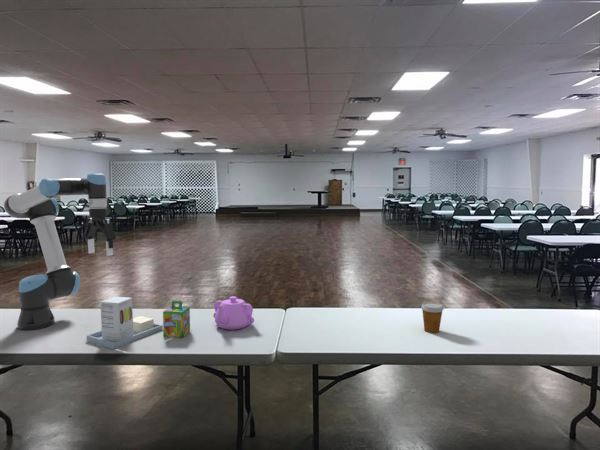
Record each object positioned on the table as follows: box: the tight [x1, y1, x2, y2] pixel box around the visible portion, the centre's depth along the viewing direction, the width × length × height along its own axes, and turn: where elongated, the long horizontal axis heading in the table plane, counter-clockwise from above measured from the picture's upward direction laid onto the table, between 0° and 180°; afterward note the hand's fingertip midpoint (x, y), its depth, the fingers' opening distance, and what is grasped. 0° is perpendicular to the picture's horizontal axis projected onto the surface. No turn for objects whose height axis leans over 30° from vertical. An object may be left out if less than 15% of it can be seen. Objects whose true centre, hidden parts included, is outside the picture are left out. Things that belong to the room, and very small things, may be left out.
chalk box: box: [162, 300, 191, 339], centre depth 189 cm, size 9×9×15 cm
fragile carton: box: [133, 315, 155, 333], centre depth 194 cm, size 9×7×4 cm
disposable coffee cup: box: [420, 301, 444, 334], centre depth 190 cm, size 10×10×12 cm
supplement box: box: [99, 296, 134, 342], centre depth 183 cm, size 10×9×17 cm
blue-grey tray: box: [86, 322, 163, 350], centre depth 187 cm, size 18×25×3 cm
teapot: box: [213, 296, 255, 331], centre depth 197 cm, size 22×22×14 cm
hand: (100, 254), depth 195 cm, fingers open, 13 cm apart
